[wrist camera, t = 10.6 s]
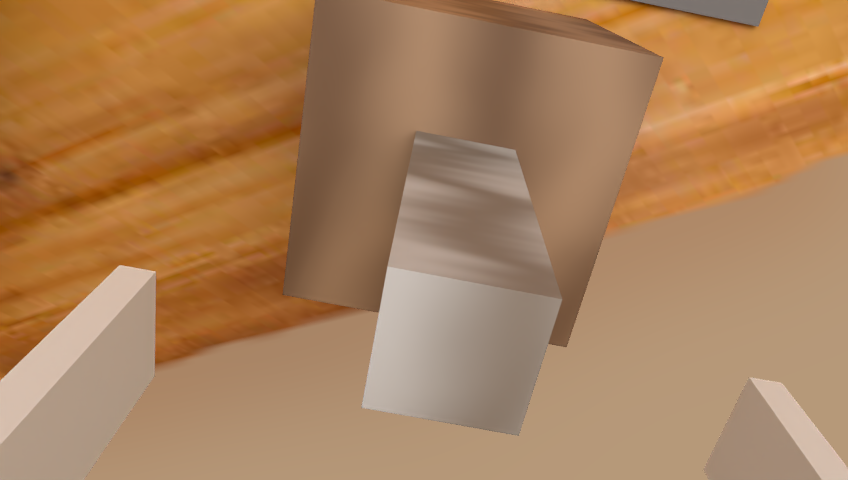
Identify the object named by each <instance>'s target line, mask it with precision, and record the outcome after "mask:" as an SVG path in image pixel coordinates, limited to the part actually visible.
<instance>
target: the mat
mask: <svg viewBox="0 0 848 480" xmlns="http://www.w3.org/2000/svg"><path fill="white" fill-rule="evenodd" d="M632 1H637V2H642V3H647V4H652V5H657V6H661V7H666V8H671V9H676V10H681V11H686V12H691V13H695V14H700V15H705V16H710V17H715V18H720V19H724V20H729V21H734V22H739V23H744V24H749V25H753V26H759V23H760V21H761V18H762V16H763V13H764V10H765V8H766V5H767V3H768V0H632Z"/></svg>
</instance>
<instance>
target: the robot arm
mask: <svg viewBox="0 0 848 480" xmlns="http://www.w3.org/2000/svg"><path fill="white" fill-rule="evenodd" d="M155 312H156V271H150V270H145V269H139V268H133V267H128V266H122V265H119V266H118V267H117V268H116V269H115V270H114V271H113V272H112V273H111V274H110V275H109V276H108V277H107V278H106V279H105V280H104V281H103V282H102V283H101V284H100V285H99V286H98V287H97V288H96V289H94V290H93V291H92V292H91V293H90V294H89V295H88V296H87V297H86V298H85V299H84V300H83V301H82V302H81V303H80V304H79V305H78V306H77V307H76V308H75V309H74V310H73V311H72V312H71V313H70V314H69V315H68V316H67V317H66V318H65V319H64V320H62V321H61V322H60V323H59V324H58V325H57V326H56V327H55V328H54V329H53V330H52V331H51V332H50V333H49V334H48V335H47V336H46V337H45V338H44V339H43V340H42V341H41V342H40V343H39V344H38V345H37V346H36V347H35V348H34V349H33V350H31V351H30V352H29V353H28V354H27V355H26V356H25V357H24V358H23V359H22V360H21V361H20V362H19V363H18V364H17V365H16V366H15V367H14V368H13V369H12V370H11V371H10V372H9V373H8V374H7V375H6V376H5V377H4V378H3V379H2V380H1V381H0V480H84V479H85V477H86V476H87V475H88V473H89V472H90V470H91V469H92V467H93V466H94V464H95V463H96V461H97V460H98V458H99V457H100V456H101V454H102V452H103V451H104V450H105V448H106V447H107V445H108V444H109V442H110V441H111V439H112V438H113V436H114V435H115V434H116V432H117V431H118V429H119V428H120V426H121V425H122V423H123V422H124V420H125V419H126V417H127V416H128V414H129V413H130V412H131V410H132V409H133V407H134V406H135V404H136V402H137V401H138V400H139V398H140V397H141V395H142V394H143V392H144V391H145V390H146V388H147V387H148V385H149V384H150V382H151V381H152V379H153V378H154V376H155ZM704 471H705V473H706V475H707V477H708V479H709V480H848V468H847V466H846V465H845V464H844V463H843V461H842V460H841V458H840V457H839V456H838V455H837V453H836V452H835V451H834V449H833V448H832V447H831V446H830V444H829V443H828V442H827V440H826V439H825V438H824V437H823V435H822V434H821V433H820V431H819V430H818V429H817V428H816V426H815V425H814V424H813V422H812V421H811V420H810V419H809V417H808V416H807V415H806V413H805V412H804V411H803V410H802V408H801V407H800V406H799V405H798V403H797V402H796V401H795V399H794V398H793V397H792V395H791V394H790V393H789V391H788V390H787V389H786V388H785V386H784V385H783V384H782V383H779V382H773V381H767V380H762V379H756V378H751V377H749V378H748V380H747V382H746V384H745V386H744V389H743V390H742V393H741V394H740V397H739V399H738V401H737V403H736V405H735V407H734V409H733V411H732V413H731V415H730V417H729V419H728V421H727V423H726V425H725V427H724V429H723V431H722V433H721V435H720V437H719V439H718V441H717V443H716V445H715V448H714V450H713V451H712V453H711V456H710V458H709V460H708V462H707V464H706V466H705V468H704Z"/></svg>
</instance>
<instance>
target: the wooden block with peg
mask: <svg viewBox="0 0 848 480" xmlns="http://www.w3.org/2000/svg"><path fill="white" fill-rule="evenodd" d="M662 61H663V57H661V56H659V55H657V54H655V53H653V52H651V51H649V50H647V49H645V48H643V47H641V46H639V45H637V44H635V43H633V42H631V41H629V40H627V39H625V38H623V37H621V36H619V35H617V34H615V33H613V32H611V31H609V30H606V29H604V28H602V27H600V26H598V25H596V24H594V23H592V22H590V21H588V20H586V19H581V18H576V17H571V16H566V15H561V14H556V13H552V12H547V11H542V10H537V9H532V8H527V7H522V6H517V5H513V4H508V3H503V2H498V1H493V0H315V8H314V17H313V26H312V35H311V44H310V53H309V62H308V71H307V80H306V89H305V98H304V107H303V116H302V125H301V134H300V143H299V152H298V161H297V170H296V180H295V189H294V198H293V207H292V216H291V225H290V234H289V243H288V252H287V261H286V270H285V279H284V288H283V295H287V296H292V297H298V298H303V299H308V300H314V301H319V302H325V303H330V304H335V305H341V306H346V307H352V308H357V309H362V310H368V311H373V312H379V316H378V321H377V327H376V332H375V337H374V343H373V348H372V353H371V359H370V364H369V369H368V375H367V380H366V386H365V391H364V396H363V403H362V408H366V409H372V410H378V411H384V412H389V413H394V414H400V415H406V416H411V417H417V418H423V419H428V420H434V421H439V422H445V423H450V424H456V425H462V426H467V427H473V428H479V429H484V430H489V431H495V432H501V433H506V434H512V435H519V433H520V430H521V427H522V424H523V421H524V417H525V414H526V411H527V408H528V405H529V402H530V399H531V396H532V392H533V389H534V386H535V383H536V380H537V377H538V374H539V371H540V367H541V364H542V361H543V358H544V355H545V352H546V349H547V346H548V344H552V345H557V346H563V347H567V344H568V341H569V338H570V335H571V332H572V329H573V326H574V323H575V320H576V317H577V314H578V311H579V308H580V305H581V302H582V299H583V296H584V294H585V290H586V288H587V285H588V281H589V278H590V276H591V273H592V269H593V267H594V264H595V260H596V258H597V255H598V252H599V249H600V246H601V242H602V240H603V237H604V234H605V231H606V228H607V225H608V222H609V219H610V216H611V213H612V210H613V207H614V204H615V201H616V198H617V195H618V192H619V189H620V186H621V183H622V180H623V177H624V174H625V171H626V168H627V165H628V162H629V159H630V156H631V153H632V150H633V147H634V144H635V141H636V138H637V135H638V133H639V130H640V127H641V124H642V121H643V118H644V115H645V112H646V109H647V106H648V103H649V100H650V97H651V94H652V91H653V88H654V85H655V82H656V79H657V76H658V73H659V70H660V67H661V64H662Z"/></svg>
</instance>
